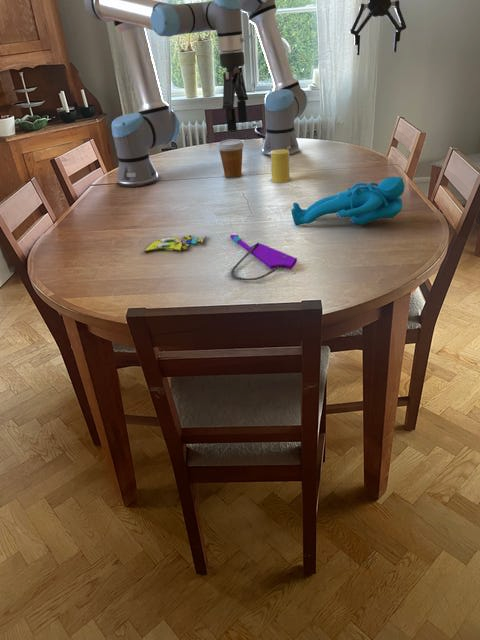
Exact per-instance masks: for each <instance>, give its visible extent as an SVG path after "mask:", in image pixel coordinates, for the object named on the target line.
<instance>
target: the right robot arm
mask: <svg viewBox="0 0 480 640" xmlns="http://www.w3.org/2000/svg"><path fill="white" fill-rule="evenodd" d="M240 6H241V13H246V14H247V17H248V21H249V23H251V24H252V25H254V27H255V30H256V33H257V36H258V39H259V43H260V45H261V49H262V52H263V54H264V58H265V61H266V64H267V67H268V70H269V71H268V72H269V73H270V74H269V75H270V77H271V80H272V83H273V88H272V90H271V91H269V92H268V93H266V94H265V97H264V103H263V104H264V114H265V134H264V133H262V132H261V133H260V132H259V131H258V128H259V126H258V124H257V123H256V122H254V123H253V124H252V126H253V127H255V128H254V132H255V134H257V135H259V136H261V137H264V141H263V144H262V154H263V155H265V156H270V157H271V151H273V150H278V149H286V150H289V156H290V155H295V154H296V153H297V154H298V152H299V151H300V149H299V148H300V147H299V143H298V139H297V137H296V133H295V119H297V118H299V117H300V116H301V115H302V114H303V113H304V112H305V111H306V109H307V106H308V96H307V94H306V92H305V90H304V89H302V88H301V85H300V82H299V80H298V79H297V78H295V77H294V75H293V72H292V68H291V65H290V61H289V59H288V56H287V52H286V49H285V44H284V42H283V38H282V35H281V32H280V29H279V25H278V22H277V19H276V12H277V11H278V8H277V5H276V0H240ZM391 7H392V8H393V9H394V11H395V13H396V16H397V19H398V22H399V23H398V22H397V21H396V19H395V18H394V16H393V15H392V14H391V12H390V8H391ZM366 9H367V10H368V11H369V12H368V13H367V14H366V16H365V18H364V19H363V20H362V21H361V22H360V24H359V21H360V20H361V18H362V15H363V12H364V11H366ZM384 16H385V17H386V18H387V19H388V20H389V22H390V24H391V25H392V26H393V28H394V30H396V31H393V42H392V43H393V44H392V52H393V53H397V46H398V43H399V42H400V41H401V33H402V31H404V30H406V29H407V24H406V21H405V19H404V16H403V12H402V11H401V8H400V0H394V1H392V0H368V2H367V3H363V2H361V3H360V4H359V8H358V12H357V15H356V17H355V18H354V21H353V23H352V25H351V27H350V30H349V34H352V35H353V37H354V39H353V41H354V42H353V44H354V46H356V52H355V53H356V56H360V52H361V51H360V50H361V49H360V48H361V34H360V33H361V32H362V30H363V29H364V27H366V25H367V23H368V22H369V21H370V20H371V18H372V17H373V18H376V17H384ZM358 24H359V25H358ZM399 24H400V25H399ZM357 26H358V27H357Z"/></svg>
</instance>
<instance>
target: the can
mask: <svg viewBox="0 0 480 640" xmlns="http://www.w3.org/2000/svg"><path fill="white" fill-rule="evenodd" d="M270 163H271V164H270V165H271V181H272V183H277V184H278V183H279V184H280V183H287V182H289V181H290V173H291V172H290V155H289V150H286V149H278V150H273V151H271V156H270Z"/></svg>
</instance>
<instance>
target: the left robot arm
mask: <svg viewBox="0 0 480 640" xmlns="http://www.w3.org/2000/svg"><path fill="white" fill-rule="evenodd" d="M83 4H84V7H85V9H86V12H87V13H88V14H89V16H91V17H92V18H94V19H95V20H97V21H101V22H106V23H111V22H113V24H114V27H115V28H114V29H115V30H117V31H118V32H120V35H121V37H122V41H123V45H124V48H125V52H126V57H127V60H128V63H129V67H130V70H131V74H132V79H133V81H134V86H135V89H136V93H137V96H138V100H139V104H140V106H139V109H138V112H131V113H128V114H127V113H126V114H122V115H121V116H117V117H115V118H114V119H113V120H112V122H111V135H112V138H113V141H114V146H115V151H116V156H117V160H118V167H117V168H118V170H117V179H116V180H117V183H118V186H120V187H123V188H124V187H125V188H136V187H137V188H138V187H145V186H147V185H148V186H149V185H151V184H154V183H156V182H157V181H158V180H159V176H158V172H157V169H156V168H155V166H154V163H153V161H152V159H151V156H150V151H149V149H154V148H157V147H160V146H163V145H168V144H169V143H172V142H174V141H175V140H177V138H178V136H179V134H180V128H181V126H180V120H179V117H178V115H177V114H176V112H175V111H174V110H173V109H170V106H169V103H167V102H166V101H164V99H163V95H162V94H163V93H162V90H161V87H160V82H159V79H158V75H157V70H156V66H155V62H154V59H153V54H152V51H151V46H150V43H149V39H148V34H147V31H146V29H148V30H151V31H154V32H155V34H156V35H158V36H160V37H173V36H179V35H188V34H195V33H204V32H213V31H216V38H217V49H218V52H219V56H218V57H219V66H220V68H222V69H226V72H223V73H222V76H223V77H222V78H223V88H222V89H223V91H222V96H223V97H222V110H225V116H226V126H227V127H226V128H227V132H236V131H238V129H237V119H236V118H237V117H236V108H235V107H234V105H235V96H236V98H237V101H236V104H237V116H238V123H248V115H247V101H248V100H249V96H248V93H247V89H246V83H245V79H244V72H243V66H245V63H246V61H245V53H244V52H243V51H242V50H244V42H245V37H243V28H242V11H241V6H240V0H209V1H202V2H201V1H200V2H189V3H176V4H175V3H167V2H163V1H158V0H83Z"/></svg>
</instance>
